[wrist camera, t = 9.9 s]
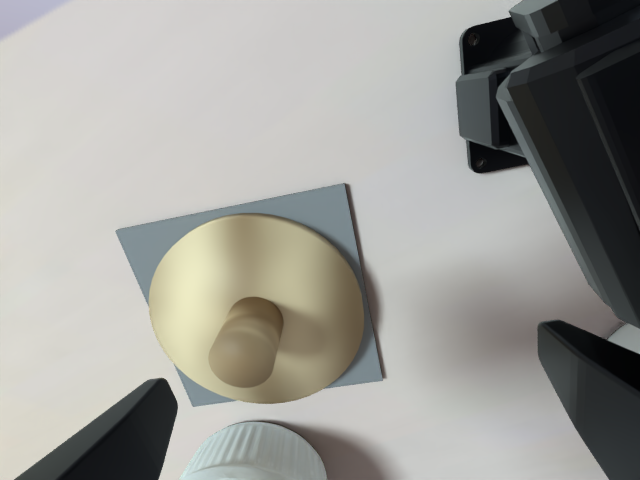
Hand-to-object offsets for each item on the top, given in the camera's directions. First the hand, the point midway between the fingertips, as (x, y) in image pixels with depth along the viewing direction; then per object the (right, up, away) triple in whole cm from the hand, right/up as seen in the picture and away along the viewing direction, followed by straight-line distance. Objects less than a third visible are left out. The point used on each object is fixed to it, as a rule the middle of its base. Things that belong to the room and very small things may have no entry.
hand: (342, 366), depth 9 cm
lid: (-4, -1, +13) cm, 14 cm away
